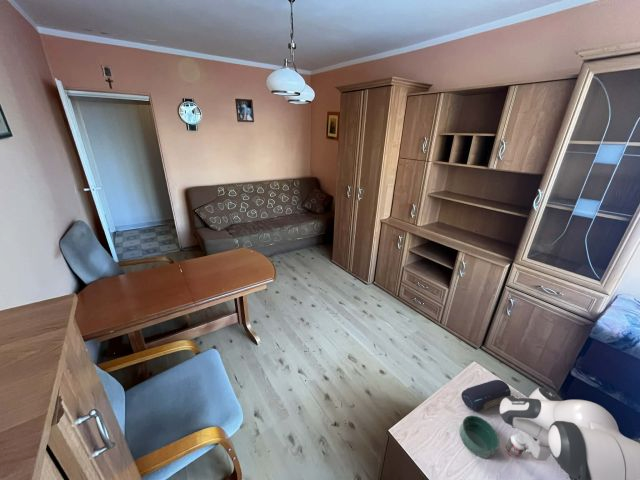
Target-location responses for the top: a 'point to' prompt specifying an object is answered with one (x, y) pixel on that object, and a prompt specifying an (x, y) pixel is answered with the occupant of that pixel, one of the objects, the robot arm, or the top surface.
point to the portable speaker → (485, 395)
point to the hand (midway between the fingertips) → (519, 438)
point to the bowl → (479, 436)
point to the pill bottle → (515, 445)
